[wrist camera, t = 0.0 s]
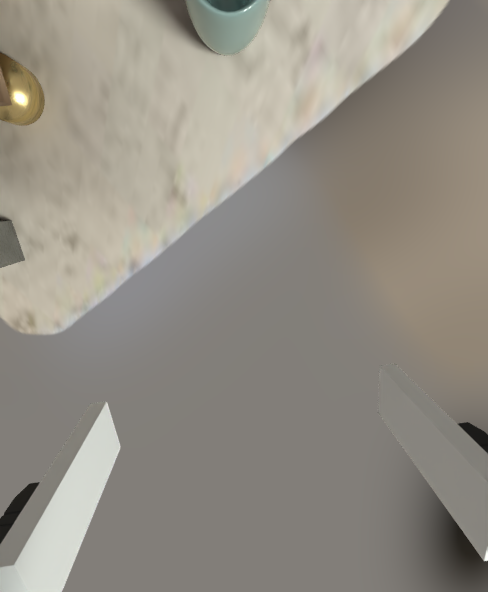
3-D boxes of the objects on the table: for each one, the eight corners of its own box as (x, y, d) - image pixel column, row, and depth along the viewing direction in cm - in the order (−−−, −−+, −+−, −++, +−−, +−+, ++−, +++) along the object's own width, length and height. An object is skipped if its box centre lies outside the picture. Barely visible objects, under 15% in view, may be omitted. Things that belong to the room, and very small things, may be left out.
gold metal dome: (-22, 65, 32) (-46, 53, 29) (34, 60, 32) (17, 47, 30) (-1, 128, 34) (-22, 122, 31) (52, 122, 34) (36, 116, 32)
